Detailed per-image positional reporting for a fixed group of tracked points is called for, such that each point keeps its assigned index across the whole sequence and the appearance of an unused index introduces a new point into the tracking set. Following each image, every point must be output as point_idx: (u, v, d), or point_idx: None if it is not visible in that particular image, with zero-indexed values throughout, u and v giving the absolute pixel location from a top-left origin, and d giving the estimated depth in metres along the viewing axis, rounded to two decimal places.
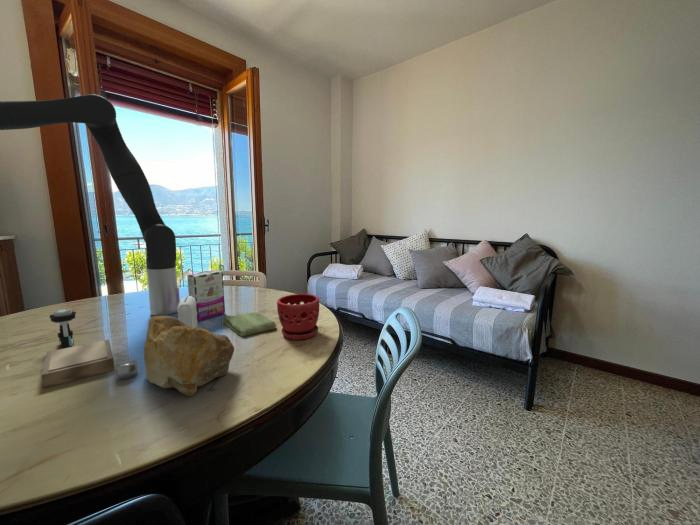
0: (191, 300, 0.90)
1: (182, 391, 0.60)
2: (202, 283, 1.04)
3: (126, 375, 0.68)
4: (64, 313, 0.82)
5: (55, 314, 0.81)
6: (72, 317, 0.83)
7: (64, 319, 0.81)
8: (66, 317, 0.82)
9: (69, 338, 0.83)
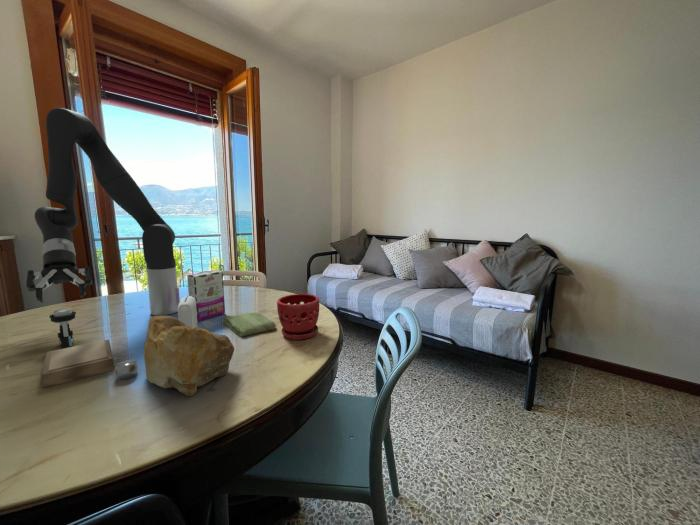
0: (191, 300, 0.90)
1: (182, 392, 0.60)
2: (202, 283, 1.04)
3: (126, 375, 0.68)
4: (64, 313, 0.82)
5: (55, 314, 0.81)
6: (72, 317, 0.83)
7: (64, 319, 0.81)
8: (66, 317, 0.82)
9: (69, 338, 0.83)
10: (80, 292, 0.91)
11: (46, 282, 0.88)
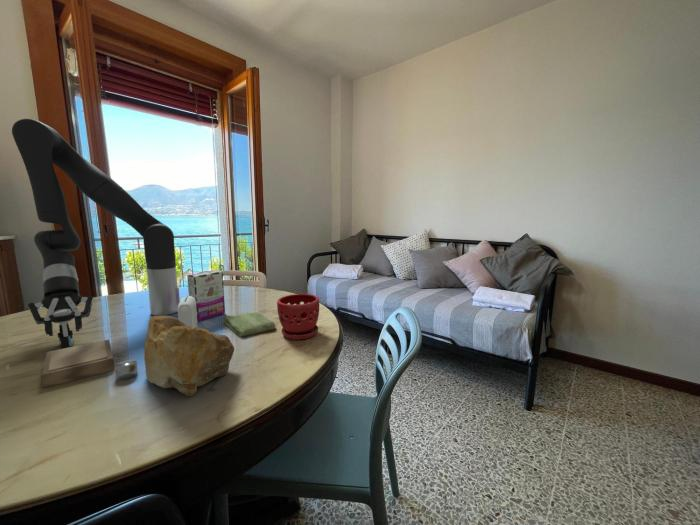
0: (191, 300, 0.90)
1: (182, 392, 0.60)
2: (203, 283, 1.04)
3: (126, 375, 0.68)
4: (63, 313, 0.82)
5: (54, 314, 0.81)
6: (71, 317, 0.83)
7: (63, 319, 0.81)
8: (65, 317, 0.82)
9: (69, 338, 0.83)
10: (76, 326, 0.84)
11: None
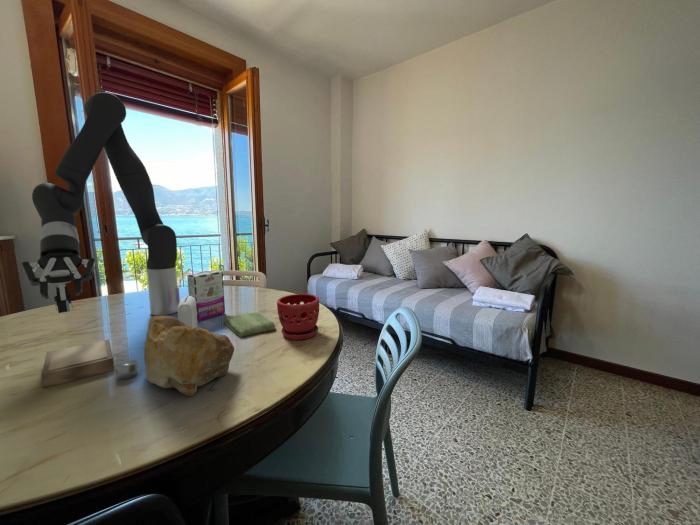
0: (191, 300, 0.90)
1: (182, 391, 0.60)
2: (203, 283, 1.04)
3: (126, 375, 0.68)
4: (61, 273, 0.72)
5: (51, 274, 0.72)
6: (70, 278, 0.74)
7: (61, 280, 0.72)
8: (63, 278, 0.72)
9: (67, 302, 0.73)
10: (75, 289, 0.75)
11: None
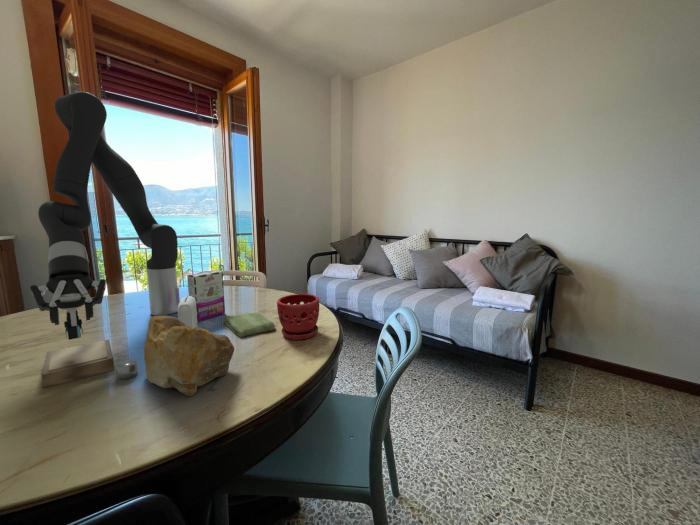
0: (191, 300, 0.90)
1: (182, 391, 0.60)
2: (202, 283, 1.04)
3: (126, 375, 0.68)
4: (72, 298, 0.68)
5: (62, 299, 0.68)
6: (82, 303, 0.70)
7: (72, 305, 0.68)
8: (75, 303, 0.68)
9: (78, 328, 0.69)
10: (87, 313, 0.71)
11: (59, 298, 0.70)
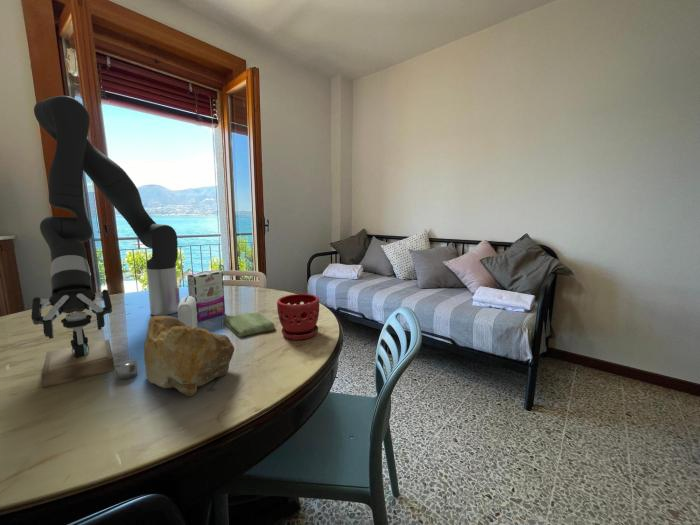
0: (191, 300, 0.90)
1: (182, 392, 0.60)
2: (203, 283, 1.04)
3: (126, 375, 0.68)
4: (78, 317, 0.70)
5: (68, 318, 0.69)
6: (87, 321, 0.72)
7: (79, 324, 0.70)
8: (81, 322, 0.70)
9: (84, 346, 0.71)
10: (98, 323, 0.73)
11: (56, 312, 0.70)
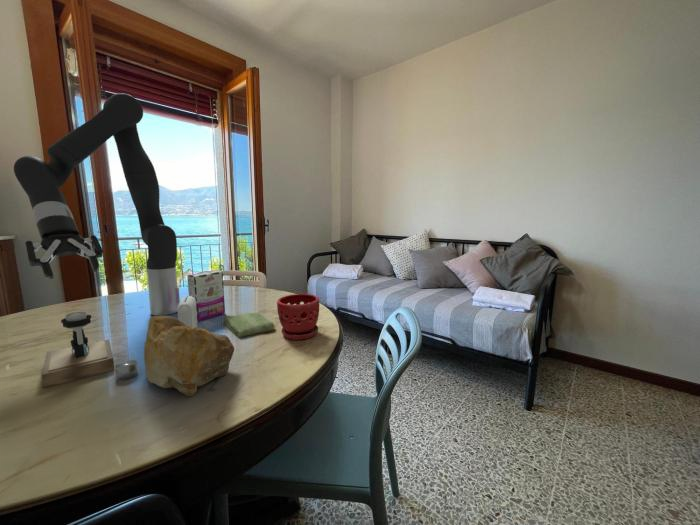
0: (191, 300, 0.90)
1: (182, 392, 0.60)
2: (203, 283, 1.04)
3: (126, 375, 0.68)
4: (78, 317, 0.70)
5: (68, 318, 0.69)
6: (87, 321, 0.71)
7: (79, 324, 0.70)
8: (81, 322, 0.70)
9: (84, 346, 0.71)
10: (94, 266, 0.80)
11: (51, 255, 0.75)
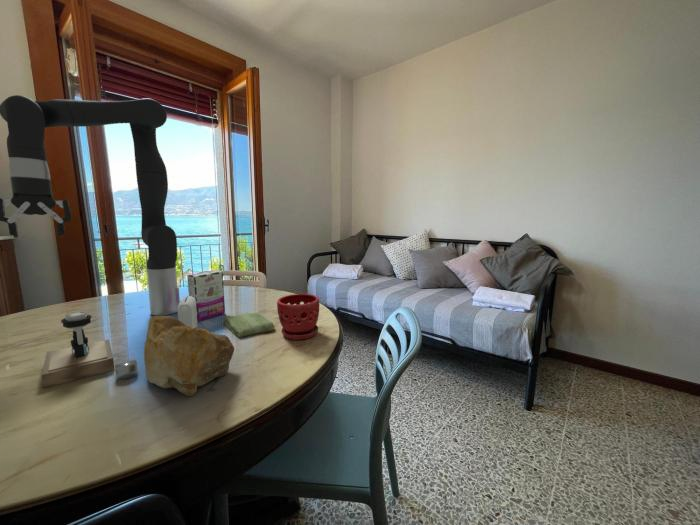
0: (191, 300, 0.90)
1: (182, 392, 0.60)
2: (202, 283, 1.04)
3: (126, 375, 0.68)
4: (78, 317, 0.70)
5: (68, 318, 0.69)
6: (87, 321, 0.72)
7: (79, 324, 0.70)
8: (81, 322, 0.70)
9: (84, 346, 0.71)
10: (59, 234, 0.85)
11: (19, 216, 0.80)
